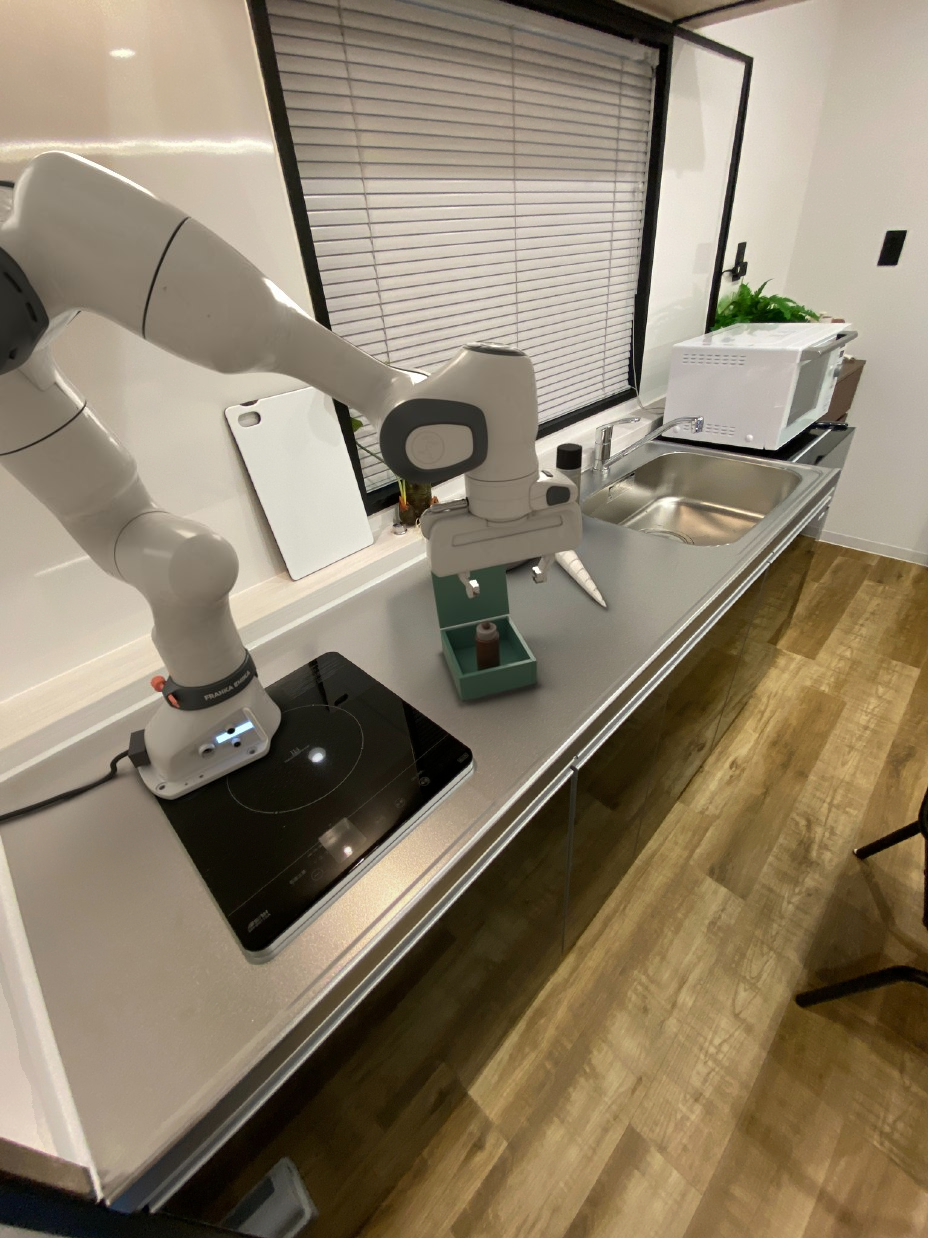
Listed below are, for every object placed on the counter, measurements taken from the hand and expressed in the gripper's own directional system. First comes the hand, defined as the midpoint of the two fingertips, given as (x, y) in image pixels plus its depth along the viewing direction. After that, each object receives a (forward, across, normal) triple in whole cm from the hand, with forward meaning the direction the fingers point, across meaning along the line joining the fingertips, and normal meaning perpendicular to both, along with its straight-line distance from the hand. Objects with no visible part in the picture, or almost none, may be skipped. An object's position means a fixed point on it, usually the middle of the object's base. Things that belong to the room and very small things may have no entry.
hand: (506, 588), depth 72 cm
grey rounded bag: (+27, +18, +55) cm, 63 cm away
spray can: (+27, +39, +68) cm, 83 cm away
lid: (+12, 0, +22) cm, 25 cm away
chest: (+26, 0, +14) cm, 29 cm away
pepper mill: (+25, 0, +13) cm, 28 cm away
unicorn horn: (+26, +29, +36) cm, 54 cm away
